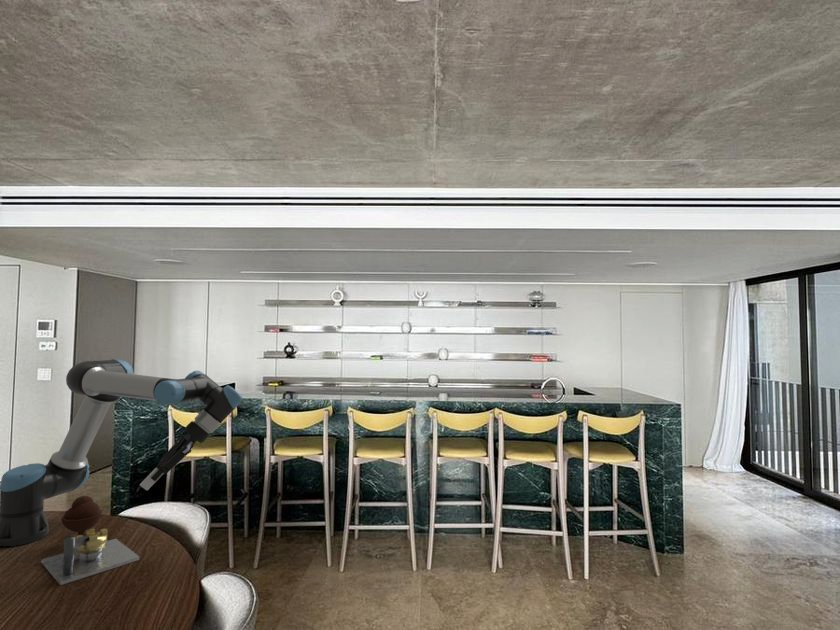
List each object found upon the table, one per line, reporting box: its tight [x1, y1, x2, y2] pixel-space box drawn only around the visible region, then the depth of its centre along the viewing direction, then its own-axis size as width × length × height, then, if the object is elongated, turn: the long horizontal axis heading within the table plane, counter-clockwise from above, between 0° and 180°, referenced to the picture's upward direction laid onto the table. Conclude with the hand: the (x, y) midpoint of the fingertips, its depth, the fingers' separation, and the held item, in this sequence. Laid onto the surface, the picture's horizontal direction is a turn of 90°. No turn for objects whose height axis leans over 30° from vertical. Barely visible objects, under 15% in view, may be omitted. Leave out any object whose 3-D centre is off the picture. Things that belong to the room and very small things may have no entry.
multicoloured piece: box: [63, 527, 109, 575], centre depth 143 cm, size 15×8×10 cm, turn 0°
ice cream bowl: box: [61, 495, 103, 541], centre depth 159 cm, size 11×11×15 cm
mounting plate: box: [40, 538, 140, 586], centre depth 146 cm, size 20×20×4 cm
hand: (143, 487), depth 149 cm, fingers closed
